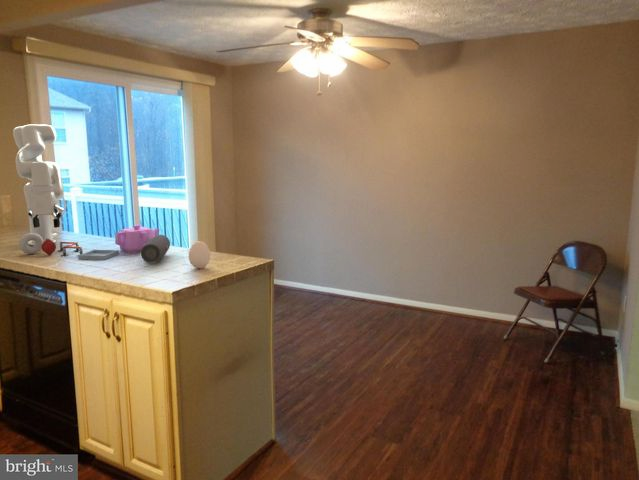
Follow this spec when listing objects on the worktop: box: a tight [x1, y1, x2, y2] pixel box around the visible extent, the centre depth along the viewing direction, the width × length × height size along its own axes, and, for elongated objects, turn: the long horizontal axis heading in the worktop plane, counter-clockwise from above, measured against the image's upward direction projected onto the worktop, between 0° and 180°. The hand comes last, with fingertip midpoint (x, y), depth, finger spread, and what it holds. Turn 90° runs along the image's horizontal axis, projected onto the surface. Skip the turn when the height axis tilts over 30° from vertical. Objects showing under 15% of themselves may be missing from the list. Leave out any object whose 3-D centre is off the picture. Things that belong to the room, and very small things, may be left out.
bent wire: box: [57, 241, 84, 258], centre depth 216 cm, size 13×19×4 cm
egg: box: [188, 240, 211, 269], centre depth 190 cm, size 9×9×11 cm
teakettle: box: [114, 224, 160, 254], centre depth 225 cm, size 17×17×12 cm
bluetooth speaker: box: [140, 234, 171, 264], centre depth 205 cm, size 23×9×10 cm, turn 8°
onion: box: [41, 238, 57, 256], centre depth 213 cm, size 6×6×8 cm
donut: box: [18, 232, 43, 255], centre depth 214 cm, size 10×4×10 cm, turn 139°
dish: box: [77, 249, 120, 261], centre depth 211 cm, size 12×12×2 cm
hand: (46, 227), depth 211 cm, fingers open, 9 cm apart
